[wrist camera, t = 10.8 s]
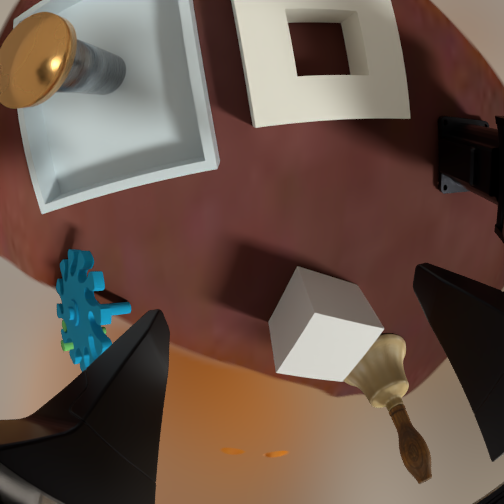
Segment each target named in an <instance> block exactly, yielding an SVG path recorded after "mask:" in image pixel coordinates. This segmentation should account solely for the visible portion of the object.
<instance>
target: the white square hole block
mask: <svg viewBox="0 0 504 504" xmlns="http://www.w3.org/2000/svg"><path fill="white" fill-rule="evenodd" d="M231 3H232V9H233V14H234V19H235V25H236V31H237V36H238V42H239V47H240V53H241V59H242V65H243V71H244V77H245V83H246V89H247V95H248V101H249V107H250V113H251V119H252V126H253V127H255V128H257V127H265V126H272V125H281V124H290V123H300V122H311V121H324V120H341V119H373V118H395V119H411V118H410V106H409V96H408V87H407V79H406V72H405V66H404V59H403V54H402V48H401V43H400V38H399V33H398V28H397V24H396V20H395V16H394V12H393V8H392V4H391V1H390V0H231ZM295 22H326V23H341V26H342V31H343V36H344V41H345V46H346V52H347V57H348V63H349V70H350V75H316V76H297V71H296V65H295V59H294V54H293V48H292V43H291V37H290V32H289V27H288V23H295Z"/></svg>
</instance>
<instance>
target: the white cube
mask: <svg viewBox="0 0 504 504" xmlns="http://www.w3.org/2000/svg"><path fill="white" fill-rule="evenodd" d="M268 323H269V329H270V336H271V342H272V349H273V355H274V362H275V368H276V373H281V374H287V375H294V376H300V377H307V378H315V379H323V380H332V381H341V382H342V381H343V380H344V379H345V378H346V377H347V376H348V375H349V373H350V372H351V371H352V370H353V369H354V367H355V366H356V365H357V364H358V362H359V361H360V360H361V359H362V358H363V356H364V355H365V354H366V352H367V351H368V350H369V349H370V347H371V346H372V345H373V343H374V342H375V341H376V339H377V338H378V337H379V335H380V334H381V333H382V331H383V330H384V327H383V326H382V324H381V322H380V321H379V319H378V317H377V316H376V314H375V312H374V311H373V309H372V307H371V306H370V304H369V303H368V301H367V299H366V298H365V296H364V294H363V293H362V291H361V290H360V288H359V287H358V285H356V284H353V283H350V282H347V281H344V280H340V279H337V278H334V277H331V276H328V275H324V274H321V273H318V272H315V271H312V270H308V269H305V268H302V267H299V266H297V267H296V269H295V271H294V273H293V275H292V277H291V279H290V281H289V283H288V285H287V287H286V289H285V291H284V293H283V295H282V297H281V299H280V301H279V303H278V305H277V306H276V308H275V310H274V312H273V314H272V316H271V318H270V320H269V322H268Z"/></svg>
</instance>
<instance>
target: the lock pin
mask: <svg viewBox="0 0 504 504" xmlns="http://www.w3.org/2000/svg"><path fill="white" fill-rule="evenodd" d="M125 75H126V65H125V62H124V61H123V59H122V58H121V57H119V56H118V55H115V54H113V53H111V52H108V51H106V50H104V49H101V48H99V47H96V46H94V45H91V44H89V43H86V42H84V41H81V40H78V39H77V36H76V32H75V29H74V27H73V25H72V24H71V23H70V22H69V21H68V20H67V19H65V18H63V17H61V16H58V15H56V14H53V13H50V12H39V13H36V14H33V15H31V16H29V17H27V18H26V19H24V20H23V21H22V22H20V23H19V24H18V25H17V26H16V27H15V28H14V29H13V30H12V31H11V32H10V34H9V35H8V36H7V38H6V39H5V41H4V43H3V44H2V46H1V48H0V103H1V104H3V105H4V106H6V107H8V108H12V109H16V108H26V107H34V106H37V105H39V104H41V103H43V102H45V101H46V100H48V99H49V98H50V97H51V96H52V95H53V94H54V93H55V92H62V93H83V94H97V95H106V94H109V93H112V92H113V91H115V90H116V89H117V88H118V87H119V86H120V85H121V84H122V82H123V80H124V78H125Z"/></svg>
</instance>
